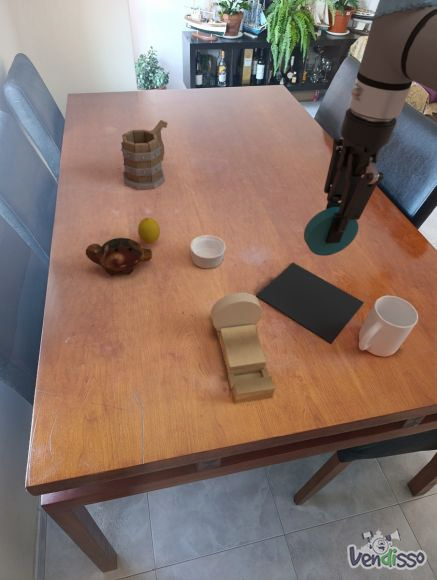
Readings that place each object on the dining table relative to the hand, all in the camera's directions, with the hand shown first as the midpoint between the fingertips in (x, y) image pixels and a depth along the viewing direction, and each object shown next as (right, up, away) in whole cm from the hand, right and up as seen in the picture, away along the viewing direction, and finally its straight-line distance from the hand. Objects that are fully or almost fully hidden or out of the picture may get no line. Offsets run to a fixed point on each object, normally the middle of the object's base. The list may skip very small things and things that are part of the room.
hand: (329, 236), depth 73 cm
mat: (0, -13, +15) cm, 20 cm away
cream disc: (-18, -15, +2) cm, 24 cm away
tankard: (-44, +27, +50) cm, 72 cm away
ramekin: (-24, -3, +23) cm, 34 cm away
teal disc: (0, +1, -1) cm, 1 cm away
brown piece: (-45, -5, +19) cm, 50 cm away
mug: (+11, -22, +7) cm, 26 cm away
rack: (-17, -24, +3) cm, 30 cm away
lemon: (-40, +2, +26) cm, 48 cm away
